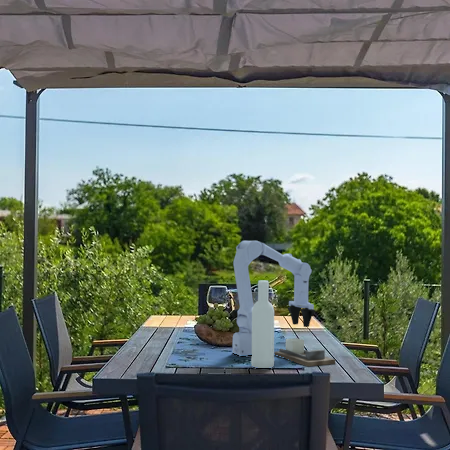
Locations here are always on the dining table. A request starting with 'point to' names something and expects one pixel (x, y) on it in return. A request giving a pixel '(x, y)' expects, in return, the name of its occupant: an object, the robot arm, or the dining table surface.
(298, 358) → the rail board
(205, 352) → the dining table surface
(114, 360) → the dining table surface
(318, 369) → the dining table surface
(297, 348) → the pale grey cube
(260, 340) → the bottle
